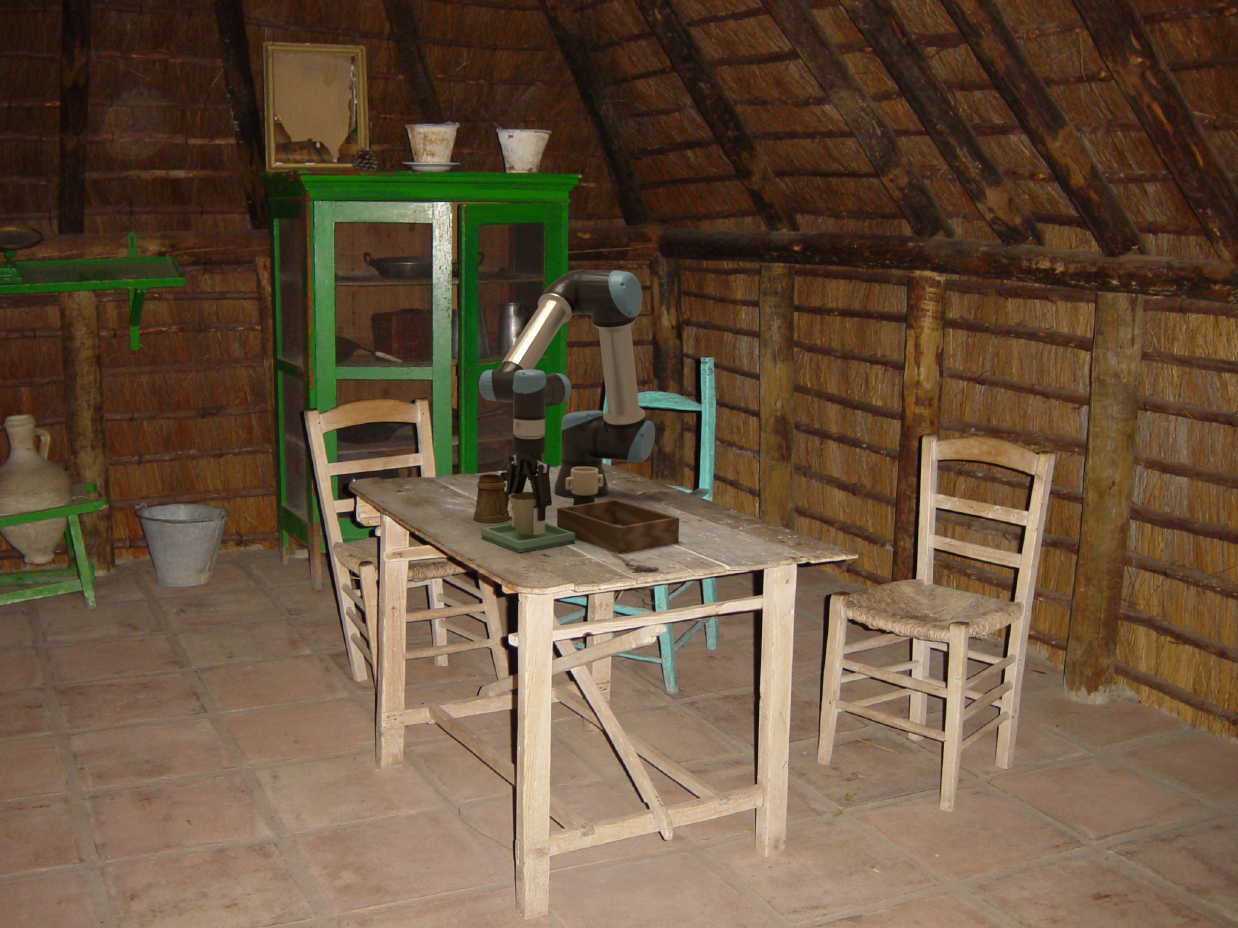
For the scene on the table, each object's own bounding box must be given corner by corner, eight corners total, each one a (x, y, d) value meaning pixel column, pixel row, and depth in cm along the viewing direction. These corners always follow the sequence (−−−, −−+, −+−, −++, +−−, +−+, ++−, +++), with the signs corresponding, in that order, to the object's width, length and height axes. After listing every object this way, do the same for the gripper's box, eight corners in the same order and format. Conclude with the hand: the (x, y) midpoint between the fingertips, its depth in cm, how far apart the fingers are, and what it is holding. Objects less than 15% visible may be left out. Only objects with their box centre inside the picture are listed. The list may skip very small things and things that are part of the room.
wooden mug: (530, 520, 309) (530, 451, 306) (478, 523, 304) (479, 453, 301) (519, 512, 318) (520, 445, 314) (469, 516, 312) (469, 447, 309)
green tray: (536, 529, 300) (536, 519, 300) (574, 543, 288) (575, 532, 287) (481, 538, 290) (481, 528, 290) (519, 553, 278) (519, 542, 278)
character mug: (595, 513, 319) (596, 464, 316) (608, 519, 313) (609, 469, 310) (558, 517, 313) (559, 468, 311) (571, 523, 307) (572, 473, 305)
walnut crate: (615, 522, 310) (615, 499, 308) (678, 542, 291) (679, 518, 290) (556, 531, 298) (557, 508, 297) (618, 553, 280) (619, 528, 278)
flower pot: (518, 537, 282) (518, 501, 281) (502, 528, 291) (502, 493, 289) (554, 533, 287) (555, 498, 285) (538, 524, 295) (538, 490, 293)
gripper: (491, 431, 290) (491, 523, 294) (541, 444, 274) (540, 541, 278) (517, 428, 295) (516, 519, 299) (568, 441, 279) (567, 536, 283)
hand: (528, 529), depth 289 cm, fingers closed on flower pot, 8 cm apart
